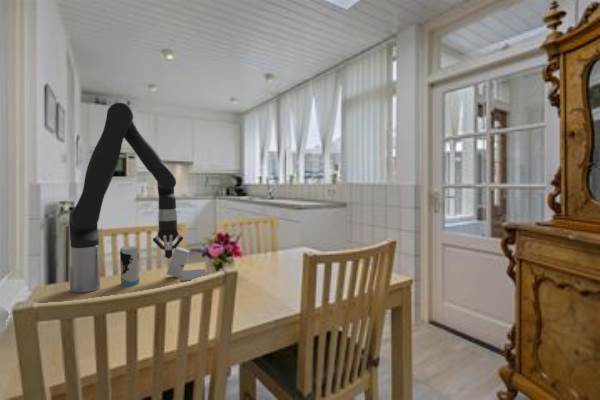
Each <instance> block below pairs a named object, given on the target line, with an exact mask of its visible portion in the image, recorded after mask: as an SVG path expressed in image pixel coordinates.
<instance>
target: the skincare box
mask: <svg viewBox="0 0 600 400" xmlns="http://www.w3.org/2000/svg"><path fill="white" fill-rule="evenodd" d="M190 251H191V250H189V249H186V248H182V247H178V246H177V247H176V248H174V251H173V253H172V257H171V258H170V259H171V260H170V263H169V264H168V265H169V266H168V268H167V272H166V275H168V276H170V277H171V276H172V277H174V278H178V279H179V278H181V277H182V272H183V271H184V269H185V266H186V263H187V260H188V257H189V254H190Z"/></svg>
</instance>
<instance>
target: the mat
mask: <svg viewBox="0 0 600 400" xmlns="http://www.w3.org/2000/svg"><path fill="white" fill-rule="evenodd" d="M205 269H206V268H201V269H200V268H199V269H190V270H189V269H188V270H187V269H186V270H183V272H182V275H181V276H180V278H181V279H180V281H181V282H190V281H189V280H192V279H195V278H198V277H201V276H205V275H207V274H206V272H205Z"/></svg>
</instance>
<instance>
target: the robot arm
mask: <svg viewBox="0 0 600 400" xmlns="http://www.w3.org/2000/svg"><path fill="white" fill-rule="evenodd" d="M124 139H125V141H126V142H127V144H129V145H130V147H131V148H132V151H134V153H135V154H136V157H138V158H139V160H140V162H141V163H142V164H143V165H144V167H145V168H146V169H147V171H148V172H150V173H151V175H152V176H153V177H154V179H155V180H156V183H157V193H158V214H157V215H158V217H157V218H158V219H157V220H158V233H157V235H156V236H155V237H153V239H152V241H153V242H154V244H155V245H156V246H158V248H159V249H160V250H164V257H165V258H166V259H167V260H168V259H172V256H173V250H175V248H176V247H178V246H179V244H180V243H181V242H182V241H183V239H184V236H183V235H181V234H179V231H178V213H177V200H176V197H175V187H176V185H177V179H176V177H175V176H174V174H173V173H172V172H171V170H170V169H169V168H168V167H167V165H165V163H164V161H163V160H162V159H161V156H159V154H158V153H157V151H156V150H155V148H153V147H152V145H151V144H150V143H149V142H148V141H147V140H146V139H145V137H144V136H143V135H142V134H141V133H140V131H139V129H138V128H137V127H136V124H135V122H134V112H133V110H132V109H131V107H130V106H129V105H127V104H126V103H124V102H116V103H113V104H112V105H110V106H109V107H108V108H107V111H106V119H105V123H104V128H103V131H102V133H101V136H100V138H99V139H98V141H97V142H96V145H95V146H94V149H93V151H92V154H91V156H90V159H89V161H88V165H87V168H86V171H85V175H84V176H85V177H84V181H83V183H84V184H83V188H82V191H81V195H80V197H79V199H78V201H77V203H76V205H75V206H74V207H73V208H71V210H70V212H69V216H68V217H69V218H68V221H69V241H70V260H71V261H70V263H71V265H70V267H69V290H70V291H69V292H70V293H78V294H80V293H81V294H82V293H88V292H93V291H96V290H98V289H100V288H101V275H100V274H101V270H100V268H101V267H100V266H101V265H100V239H99V232H98V223H99V220H100V216H101V212H102V211H101V209H102V205H103V202H104V198H105V195H106V193H107V191H108V189H109V186H110V185H111V182H112V179H113V177H114V174H115V172H116V169H117V167H118V162H119V160H120V156H121V150H122V144H123V142H124ZM176 239H177V240H176ZM160 240H161V241H162V242H160ZM175 240H176V242H174V241H175ZM173 242H174V243H173ZM163 244H164V245H163Z"/></svg>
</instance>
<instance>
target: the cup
mask: <svg viewBox="0 0 600 400" xmlns="http://www.w3.org/2000/svg"><path fill="white" fill-rule="evenodd" d="M139 255H140V254H139V246H135V245H132V246H122V247H120V248H119V257H120V262H119V263H120V265H119V266H120V285H121V286H123V287H131V286H133V287H134V286H136V285H138V284H140V262H139V261H140V260H139V258H140V257H139Z"/></svg>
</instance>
